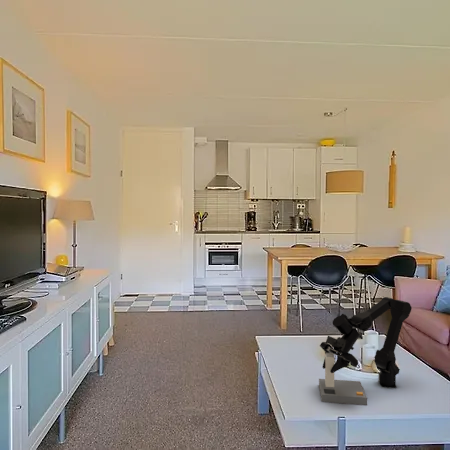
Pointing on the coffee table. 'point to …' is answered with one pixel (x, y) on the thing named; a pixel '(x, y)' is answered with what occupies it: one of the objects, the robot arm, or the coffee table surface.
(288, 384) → the coffee table surface
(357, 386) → the socket board
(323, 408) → the coffee table surface
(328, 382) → the plug
